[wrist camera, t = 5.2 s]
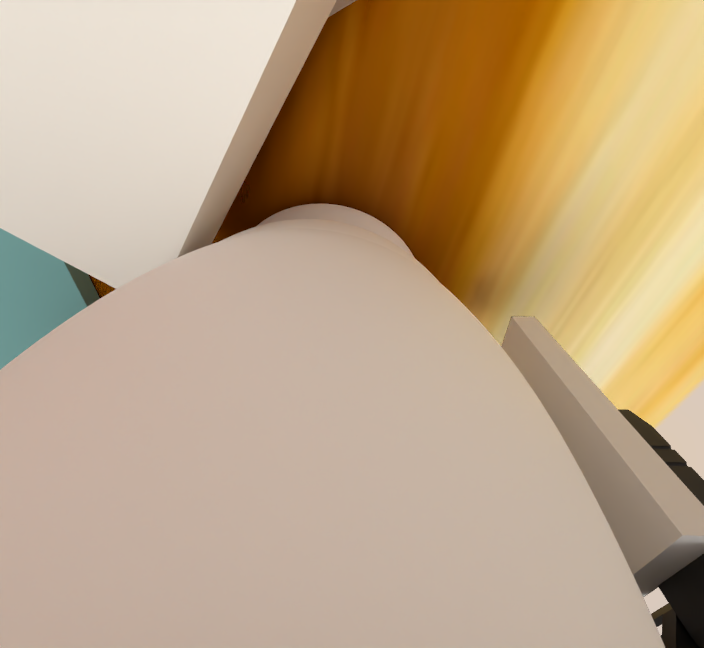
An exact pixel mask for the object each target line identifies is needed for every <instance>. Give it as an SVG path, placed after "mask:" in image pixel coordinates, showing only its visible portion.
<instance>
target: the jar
mask: <svg viewBox="0 0 704 648" xmlns="http://www.w3.org/2000/svg"><path fill="white" fill-rule="evenodd" d="M0 648H665V646H664V643H663V641H662V639H661V636H660V634H659V632H658V630H657V627H656V625H655V622H654V620H653V618H652V616H651V614H650V611H649V609H648V607H647V605H646V602H645V600H644V598H643V596H642V593H641V591H640V589H639V587H638V585H637V583H636V580H635V578H634V576H633V574H632V572H631V570H630V568H629V565H628V563H627V561H626V559H625V557H624V555H623V553H622V551H621V549H620V546H619V544H618V542H617V540H616V538H615V536H614V534H613V532H612V530H611V528H610V526H609V524H608V522H607V520H606V518H605V516H604V514H603V512H602V510H601V508H600V506H599V504H598V502H597V500H596V498H595V496H594V494H593V492H592V490H591V489H590V487H589V485H588V483H587V481H586V479H585V477H584V475H583V473H582V472H581V470H580V468H579V466H578V464H577V462H576V460H575V459H574V457H573V455H572V453H571V452H570V450H569V448H568V446H567V444H566V443H565V441H564V439H563V437H562V436H561V434H560V432H559V431H558V429H557V427H556V426H555V424H554V422H553V421H552V419H551V417H550V416H549V414H548V413H547V411H546V409H545V408H544V406H543V405H542V403H541V401H540V400H539V398H538V397H537V395H536V394H535V392H534V391H533V389H532V388H531V386H530V385H529V383H528V382H527V381H526V379H525V378H524V376H523V375H522V374H521V372H520V371H519V369H518V368H517V367H516V365H515V364H514V363H513V361H512V360H511V359H510V357H509V356H508V355H507V353H506V352H505V351H504V350H503V348H502V347H501V346H500V345H499V343H498V342H497V341H496V340H495V338H494V337H493V336H492V335H491V334H490V333H489V331H488V330H487V329H486V328H485V327H484V326H483V325H482V323H481V322H480V321H479V320H478V319H477V318H476V317H475V316H474V315H473V314H472V313H471V312H470V311H469V310H468V309H467V308H466V307H465V306H464V305H463V304H462V303H461V302H460V301H459V300H458V299H457V298H456V297H455V296H454V295H453V294H452V293H451V292H450V291H449V290H448V289H447V288H446V287H444V286H443V285H442V284H441V283H440V282H439V281H438V280H437V279H436V278H435V277H434V276H433V275H432V274H431V273H430V272H429V271H428V270H427V269H426V268H425V267H424V266H423V265H422V264H421V263H420V262H419V261H418V260H416V259H415V258H414V256H413V254H412V253H411V251H410V249H409V248H408V247H407V245H406V244H405V243H404V241H403V240H402V239H401V238H400V237H399V236H398V235H397V234H396V233H395V232H394V231H393V230H392V229H390V228H389V227H388V226H387V225H385V224H384V223H382V222H381V221H379V220H378V219H376V218H374V217H372V216H370V215H368V214H366V213H364V212H362V211H359V210H356V209H353V208H349V207H346V206H341V205H335V204H306V205H300V206H295V207H291V208H288V209H285V210H282V211H280V212H278V213H276V214H274V215H272V216H270V217H268V218H267V219H265V220H264V221H262V222H261V223H260V224H258V225H257V226H256V227H253V228H250V229H247V230H245V231H242V232H239V233H237V234H234V235H232V236H230V237H228V238H226V239H223V240H221V241H219V242H217V243H214V244H211V245H208V246H205V247H203V248H200V249H197V250H195V251H192V252H190V253H187V254H185V255H182V256H180V257H178V258H176V259H173V260H171V261H169V262H167V263H165V264H163V265H160V266H158V267H156V268H154V269H152V270H150V271H148V272H146V273H144V274H142V275H141V276H139V277H137V278H135V279H133V280H131V281H129V282H128V283H126V284H124V285H122V286H121V287H119V288H117V289H115V290H114V291H112V292H110V293H109V294H107V295H105V296H104V297H102V298H100V299H99V300H97V301H96V302H94V303H92V304H91V305H89V306H88V307H86V308H85V309H83V310H81V311H80V312H78V313H77V314H75V315H74V316H72V317H71V318H70V319H68V320H67V321H65V322H64V323H62V324H61V325H59V326H58V327H56V328H55V329H54V330H52V331H51V332H49V333H48V334H47V335H45V336H44V337H43V338H41V339H40V340H38V341H37V342H36V343H34V344H33V345H32V346H30V347H29V348H28V349H26V350H25V351H24V352H22V353H21V354H20V355H18V356H17V357H16V358H15V359H13V360H12V361H11V362H9V363H8V364H7V365H6V366H4V367H3V368H2V369H1V370H0Z"/></svg>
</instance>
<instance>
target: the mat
mask: <svg viewBox="0 0 704 648" xmlns="http://www.w3.org/2000/svg"><path fill="white" fill-rule="evenodd" d="M99 299H100V298H99V296H98V293H97V291H96V289H95V287H94V285H93V283H92V281H91V279H90V277H89V275H88V274H87V273H85V272H83V271H81V270H79V269H77V268H75V267H74V266H72V265H70V264H68V263H66V262H64V261H62V260H60V259H58V258H56V257H54V256H53V255H51V254H49V253H47V252H45V251H43V250H41V249H39V248H37V247H35V246H33V245H32V244H30V243H28V242H26V241H24V240H22V239H20V238H18V237H16V236H14V235H12V234H11V233H9V232H7V231H5V230H3V229H1V228H0V370H1V369H2V368H3V367H4V366H6V365H7V364H8V363H9V362H11V361H12V360H13V359H15V358H16V357H17V356H18V355H20V354H21V353H22V352H24V351H25V350H26V349H28V348H29V347H30V346H32V345H33V344H34V343H36V342H37V341H38V340H40V339H41V338H43V337H44V336H45V335H47V334H48V333H49V332H51V331H52V330H54V329H55V328H56V327H58V326H59V325H61V324H62V323H64V322H65V321H67V320H68V319H70V318H71V317H72V316H74V315H75V314H77V313H78V312H80V311H81V310H83V309H85V308H86V307H88V306H89V305H91V304H92V303H94V302H96V301H97V300H99Z"/></svg>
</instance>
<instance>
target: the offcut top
mask: <svg viewBox="0 0 704 648" xmlns="http://www.w3.org/2000/svg"><path fill="white" fill-rule="evenodd" d="M336 1H337V0H0V228H1V229H3V230H5V231H7V232H9V233H11V234H12V235H14V236H16V237H18V238H20V239H22V240H24V241H26V242H28V243H30V244H32V245H33V246H35V247H37V248H39V249H41V250H43V251H45V252H47V253H49V254H51V255H53V256H54V257H56V258H58V259H60V260H62V261H64V262H66V263H68V264H70V265H72V266H74V267H75V268H77V269H79V270H81V271H83V272H85V273H87V274H89V275H91V276H93V277H94V278H96V279H98V280H100V281H102V282H104V283H106V284H108V285H110V286H112V287H114V288H115V289H117V288H119V287H121V286H122V285H124V284H126V283H128V282H129V281H131V280H133V279H135V278H137V277H139V276H141V275H142V274H144V273H146V272H148V271H150V270H152V269H154V268H156V267H158V266H160V265H163V264H165V263H167V262H169V261H171V260H173V259H176V258H178V257H180V256H182V255H185V254H187V253H190V252H192V251H195V250H197V249H200V248H203V247H205V246H208V245H211V244H212V242H213V240H214V238H215V236H216V234H217V232H218V230H219V229H220V227H221V225H222V223H223V221H224V219H225V217H226V215H227V213H228V211H229V209H230V207H231V205H232V203H233V201H234V199H235V197H236V195H237V193H238V192H239V190H240V188H241V186H242V184H243V182H244V180H245V178H246V176H247V174H248V172H249V170H250V168H251V166H252V164H253V162H254V160H255V158H256V156H257V154H258V153H259V151H260V149H261V147H262V145H263V143H264V141H265V139H266V137H267V135H268V133H269V131H270V129H271V127H272V125H273V123H274V121H275V119H276V117H277V116H278V114H279V112H280V110H281V108H282V106H283V104H284V102H285V100H286V98H287V96H288V94H289V92H290V90H291V88H292V86H293V84H294V82H295V80H296V79H297V77H298V75H299V73H300V71H301V69H302V67H303V65H304V63H305V61H306V59H307V57H308V55H309V53H310V51H311V49H312V47H313V45H314V43H315V42H316V40H317V38H318V36H319V34H320V32H321V30H322V28H323V26H324V24H325V22H326V20H327V18H328V16H329V14H330V12H331V10H332V8H333V6H334V5H335V3H336Z"/></svg>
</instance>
